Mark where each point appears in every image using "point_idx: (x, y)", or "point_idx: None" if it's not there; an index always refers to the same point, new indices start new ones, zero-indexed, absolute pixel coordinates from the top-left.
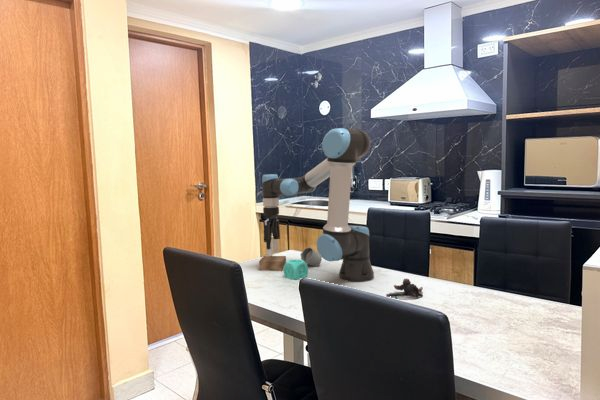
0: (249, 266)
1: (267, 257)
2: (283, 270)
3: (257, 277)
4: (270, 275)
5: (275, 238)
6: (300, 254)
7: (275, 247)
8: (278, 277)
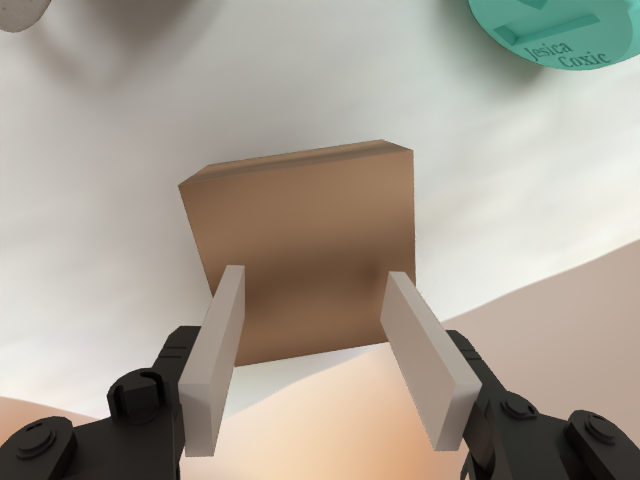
0: (251, 390)
1: (282, 325)
2: (596, 68)
3: (486, 263)
4: (442, 203)
5: (178, 434)
6: (29, 18)
7: (234, 323)
8: (492, 131)
